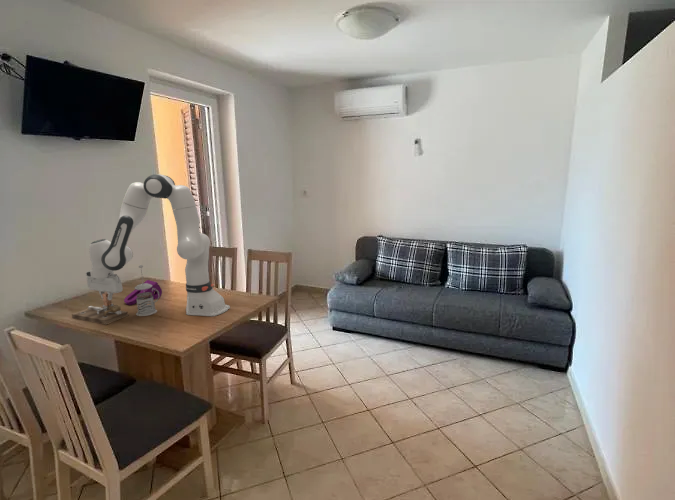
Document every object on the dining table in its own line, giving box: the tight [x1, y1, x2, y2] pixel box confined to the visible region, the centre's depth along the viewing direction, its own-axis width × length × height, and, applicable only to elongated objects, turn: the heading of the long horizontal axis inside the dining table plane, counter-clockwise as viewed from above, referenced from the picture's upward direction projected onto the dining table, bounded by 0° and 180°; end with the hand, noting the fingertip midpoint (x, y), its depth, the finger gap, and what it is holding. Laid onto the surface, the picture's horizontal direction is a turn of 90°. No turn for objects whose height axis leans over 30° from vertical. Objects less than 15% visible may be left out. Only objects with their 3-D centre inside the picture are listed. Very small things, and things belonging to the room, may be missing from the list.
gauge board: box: [71, 304, 129, 325], centre depth 189 cm, size 24×12×6 cm, turn 68°
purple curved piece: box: [123, 279, 163, 306], centre depth 213 cm, size 9×8×18 cm
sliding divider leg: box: [97, 292, 115, 315], centre depth 187 cm, size 3×8×9 cm, turn 158°
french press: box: [134, 264, 160, 317], centre depth 192 cm, size 10×12×25 cm
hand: (107, 299), depth 189 cm, fingers closed on sliding divider leg, 2 cm apart
